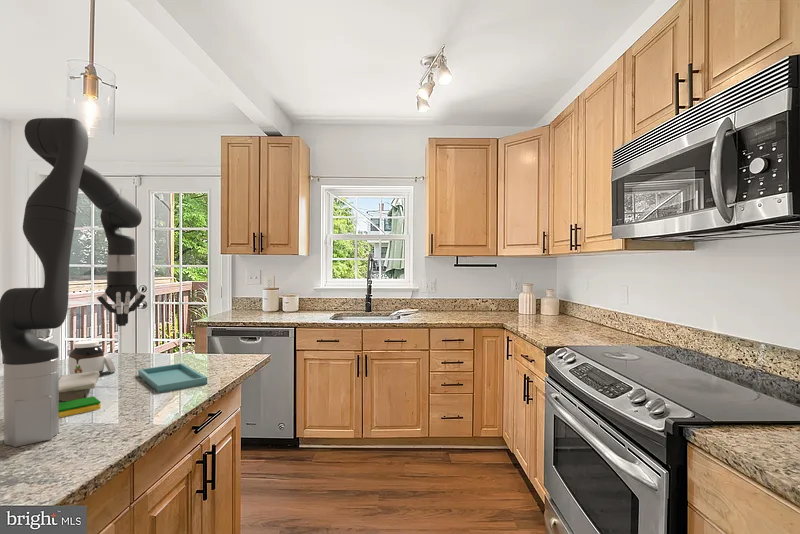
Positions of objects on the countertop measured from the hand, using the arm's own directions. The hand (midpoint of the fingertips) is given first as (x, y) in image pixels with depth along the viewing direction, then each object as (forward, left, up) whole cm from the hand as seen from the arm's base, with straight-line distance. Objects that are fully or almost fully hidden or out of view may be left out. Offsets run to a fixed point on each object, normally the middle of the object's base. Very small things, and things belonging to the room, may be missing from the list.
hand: (121, 325), depth 131 cm
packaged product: (0, +6, -17) cm, 18 cm away
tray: (0, -14, -19) cm, 24 cm away
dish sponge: (-15, +15, -20) cm, 29 cm away
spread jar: (+25, +4, -20) cm, 32 cm away
